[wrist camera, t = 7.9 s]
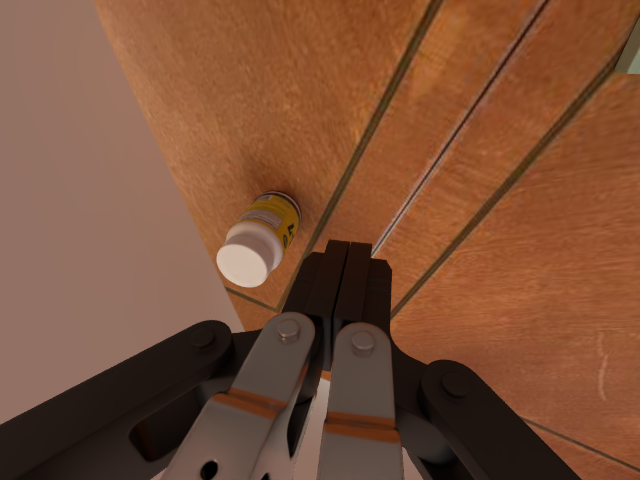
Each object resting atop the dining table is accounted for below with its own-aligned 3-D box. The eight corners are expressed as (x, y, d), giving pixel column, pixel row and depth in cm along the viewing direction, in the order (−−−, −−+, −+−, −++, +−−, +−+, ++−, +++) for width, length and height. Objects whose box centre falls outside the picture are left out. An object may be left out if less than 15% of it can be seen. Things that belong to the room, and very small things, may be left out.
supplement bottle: (292, 241, 31) (261, 301, 24) (249, 221, 31) (205, 275, 24) (309, 203, 28) (280, 258, 21) (262, 181, 28) (217, 229, 21)
